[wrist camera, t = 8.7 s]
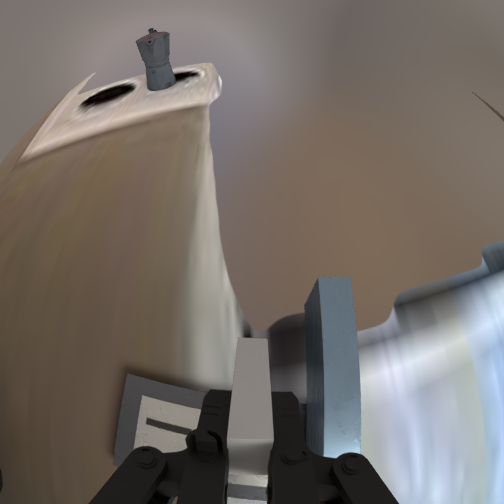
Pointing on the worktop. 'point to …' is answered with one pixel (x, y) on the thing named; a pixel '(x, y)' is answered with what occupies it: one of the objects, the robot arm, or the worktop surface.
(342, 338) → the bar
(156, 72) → the moka pot
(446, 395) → the worktop surface
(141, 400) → the plate
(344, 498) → the robot arm
